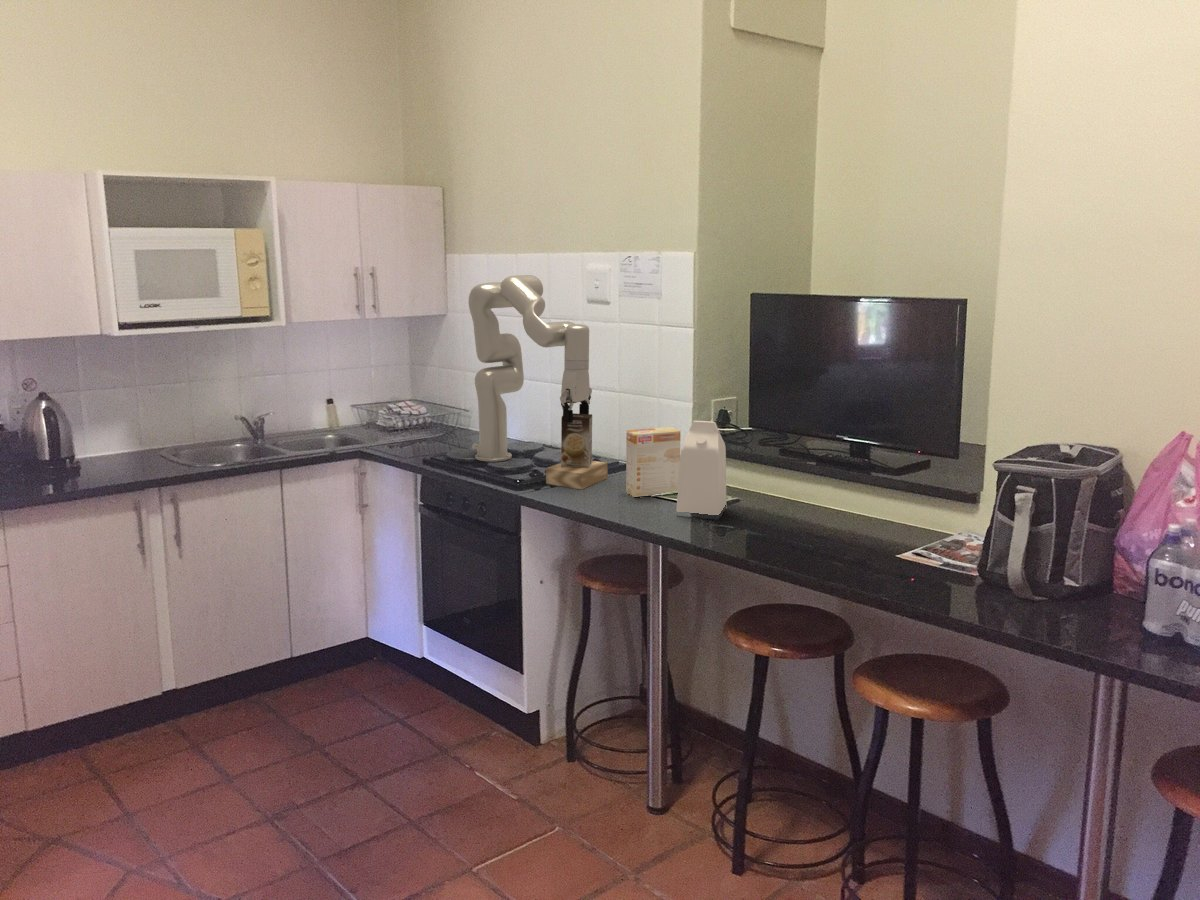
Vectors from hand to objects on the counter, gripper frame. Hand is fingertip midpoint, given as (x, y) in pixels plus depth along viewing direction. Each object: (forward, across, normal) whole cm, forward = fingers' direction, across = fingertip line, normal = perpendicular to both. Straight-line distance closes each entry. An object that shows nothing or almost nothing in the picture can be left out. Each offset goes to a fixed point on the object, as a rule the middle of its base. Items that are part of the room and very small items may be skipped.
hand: (576, 419), depth 301 cm
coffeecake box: (+19, +1, +28) cm, 34 cm away
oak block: (+20, 0, +1) cm, 20 cm away
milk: (+19, +12, +49) cm, 54 cm away
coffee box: (+15, 0, 0) cm, 15 cm away
